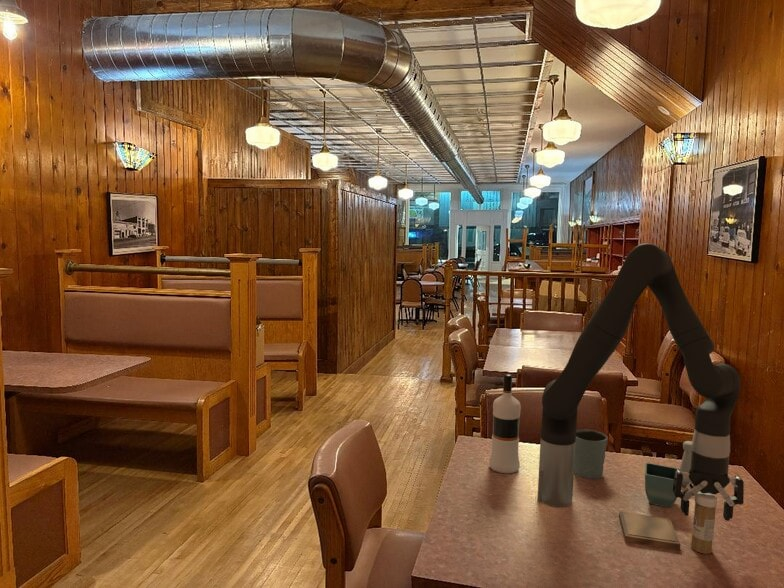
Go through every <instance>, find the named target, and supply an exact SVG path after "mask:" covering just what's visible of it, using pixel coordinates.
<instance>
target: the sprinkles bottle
mask: <svg viewBox="0 0 784 588" xmlns="http://www.w3.org/2000/svg"><path fill="white" fill-rule="evenodd" d="M693 499H694V500H693V501H694V513H693V518H692V519H693V520H692V531H691V541H690V547H691V549H692V550H693V551H695V552H697V553H700V554H712V552H713V540H714V533H715V524H716V523H715V522H716V509H717V505H718V497H717V496H716V495H714V494H710V493H701V492H700V491H699V492H698V493H697V494H696V495H694V498H693Z"/></svg>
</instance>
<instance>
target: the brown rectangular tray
mask: <svg viewBox="0 0 784 588" xmlns="http://www.w3.org/2000/svg"><path fill="white" fill-rule="evenodd" d="M618 519H619V522H620V527H621V531H622V536H623V539H624V542H625V543H631V544H637V545H638V544H639V545H644V546H651V547H655V548H656V547H657V548H663V549H671V550H676V551H680V550H681V543H680V540H679V537H678V535H677V532H676V531H675V528H674V525H673V523H672V521H671V519H670V518H669V517H667V518H666V517H660V516H654V515H653V516H652V515H648V514H647V515H646V514H639V513H633V512H625V511H619V512H618Z"/></svg>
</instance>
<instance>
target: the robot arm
mask: <svg viewBox="0 0 784 588" xmlns="http://www.w3.org/2000/svg"><path fill="white" fill-rule="evenodd" d="M647 287H648V288H649V290H650V291H651V292H652V294H653V295H654V296H655V298H656V300H657V302H658V303H659V305H660V308H661V310H662V312H663V313H662V314H663V316H664V319H665V322H666V325H667V328H668V330H669V333H670V335H671V337H672V339H673V340H674V342H675V344H676V345H677V348H678V349H679V351H680V352H681V355H682V357H683V362H684V367H685V370H686V374H687V377H688V382H689V383H690V386H691V387H692V388H693V389H694V391H695V392H696V393H697V394H699V395H700V396H701V397H702V398H703V397H704V398H705V400H704V401H703V402H702V403H701V404H699V405H698V406H697V408H696V410H695V415H694V417H695V418H694V420H695V421H694V430H693V435H692V440H691V441H692V455H691V469H690V471H689V472H682V471H680V470H679V468H678V469H676V470H675V475H674V483H673V493H674V495H675V497H677V499H680V506H679V507H680V510H681V512H682V514H683V515H684V516H686V517H689V515H690V499H691V498H692V497H693V496H694V497H695V495H696V494H697V493H698V492H699V491H700V492H701V493H710V494H713V495H715V496H716V495H718V494H720V495H721V496H722V498H723V499H724V500H725V501H723V511H722V512H723V515H722V516H723V519H724V520H725V521H727V522H729V521H730V519H731V520H732V519H733V516H734V507H735V506H736V505H740V506H742V505H744V497H745V496H744V493H745V492H744V490H745V489H744V488H745V486H744V485H745V483H744V479H742V477H741V476H740V475H737V474H736V475H734V476H729V467H730V454H731V435H730V434H731V422H732V421H731V419H732V414H733V412H734V409H735V406H736V404H737V401H738V398H739V393H740V389H741V379H740V375H739V373H738V371H737V370H736V369H735V368H734V367H733V366H731V365H730V364H726V363H716V364H713V361H712V358H711V354H712V353H713V352H714V351H715V344H714V343H713V339H712V338H711V337H710V335H709V333H708V332H707V330H706V328H705V326H704V325H703V323H702V321H701V319H700V318H699V316H698V315H697V313H696V312H695V309H694V308H693V307H692V305H691V303H690V302H689V299H688V298H687V296H686V294H685V292H684V289H683V287H682V285H681V283H680V280H679V277H678V275H677V270H676V269H675V266H674V263H673V260H672V258H671V256H670V254H669V253H668V252H667V251H666V250H664V249H662V248H660V247H659V246H658V245H655V244H654V243H648V242H646V243H645V242H644V243H641V244H638V245H637V246H635V247H634V248H632V249H631V250H630V252H629V253H628V254H627V255H626V257H625V258H624V261H623V263H622V265H621V267H620V269H619V272H618V274H617V275H616V278H615V279H614V281H613V283H612V285H611V287H610V288H609V290H608V292H607V293H606V295H605V296H604V297H603V299H602V300H601V302H600V303H599V304H598V307H597V308H596V310H595V311H594V313H593V314H592V316H591V317H590V319H589V320H588V322H587V323H586V324H585V326H584V328H583V330H582V331H581V333H580V334H579V337H578V338H577V340H576V342H575V345H574V346H573V349H572V352H571V354H570V357H569V359H568V361H567V363H566V365H565V367H564V368H563V370H562V372H561V373H560V374H559V375H558V377H556V379H553V380H552V381H550V382H548V383H547V384H546V385H545V387H544V390H543V393H542V397H541V404H542V411H541V412H542V413H541V415H542V417H541V426H540V443H539V444H540V446H539V459H538V460H539V462H538V463H539V464H538V477H537V478H538V482H537V498H536V499H537V500H536V501H537V502H541V503H543V504H545V505H548V506H552V507H559V508H560V507H567V506H570V505H571V504H572V503H573V497H574V496H573V495H574V476H575V473H574V462H575V445H576V430H578V429H577V426H578V425H577V424H578V408H579V405H580V403H581V401H582V398H584V395H585V393H586V391H587V389H588V387H589V385H591V382H592V381H593V380H594V378H595V377H596V376H597V374H598V373H599V372H600V371H601V369H603V367H604V365H605V364H606V363H607V362H608V361H609V359H610V357H611V356H612V355H613V353H615V351H616V349H617V347H618V346H619V344H620V343H621V342H622V340H623V338H624V337H625V336H626V333H627V331H628V329H629V326H630V323H631V319H632V315H633V311H634V308H635V307H636V304H637V302H638V300H639V298H640V297H641V295H642V293H644V291H645V290H646V288H647ZM686 478H689V479H690V480H691V482H690V483H689V484H688V485H687V486H686V487H685V488H684V489H683V490H682V487H683V486H682V481H685V480H686ZM730 483H731V485H732V487H733V496H730V495H729V494H728V492H727V491H726V490H725V488H726V487H727V486H728V485H729V484H730Z"/></svg>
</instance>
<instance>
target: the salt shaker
mask: <svg viewBox="0 0 784 588" xmlns="http://www.w3.org/2000/svg"><path fill="white" fill-rule="evenodd" d="M692 441H693V440H685V441H683V443H682V448H683V449H682V450H684V452H683V454H682V458H681V462H680V465H679V467H678V469H680V471H682V472H689V471H690V469H691V455H692ZM690 482H691V480H690V479H689V478H686V480H685V481H682V487H685V488H686V486H687V485H688V484H689V483H690Z"/></svg>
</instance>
